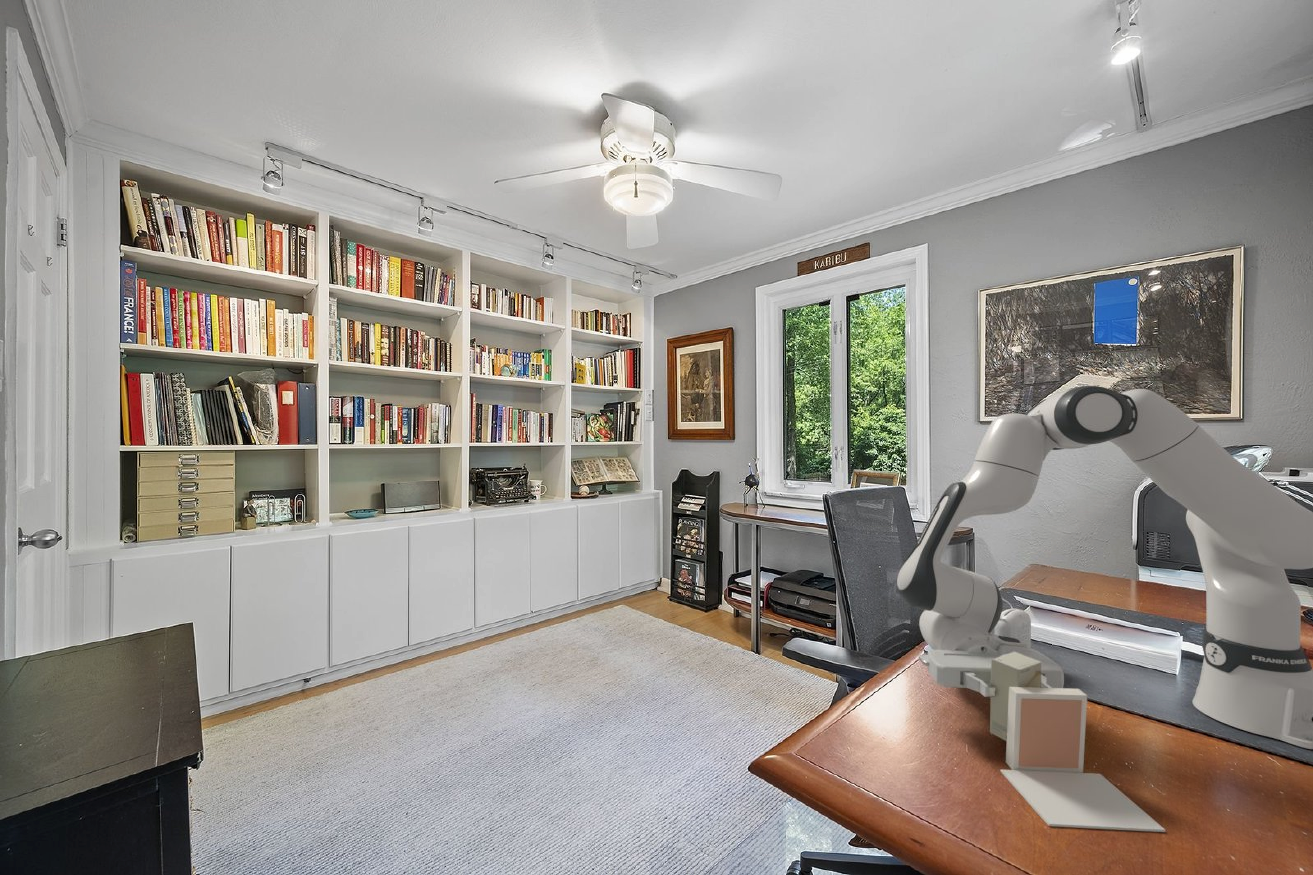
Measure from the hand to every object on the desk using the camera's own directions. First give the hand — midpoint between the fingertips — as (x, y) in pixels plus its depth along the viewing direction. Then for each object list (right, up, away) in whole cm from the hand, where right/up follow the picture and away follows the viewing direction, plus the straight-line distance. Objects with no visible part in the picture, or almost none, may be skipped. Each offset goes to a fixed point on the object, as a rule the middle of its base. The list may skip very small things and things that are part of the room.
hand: (1019, 693), depth 83 cm
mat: (+1, -10, -10) cm, 14 cm away
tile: (+2, -10, -3) cm, 10 cm away
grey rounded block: (+19, -10, +31) cm, 38 cm away
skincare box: (0, -7, +1) cm, 8 cm away
